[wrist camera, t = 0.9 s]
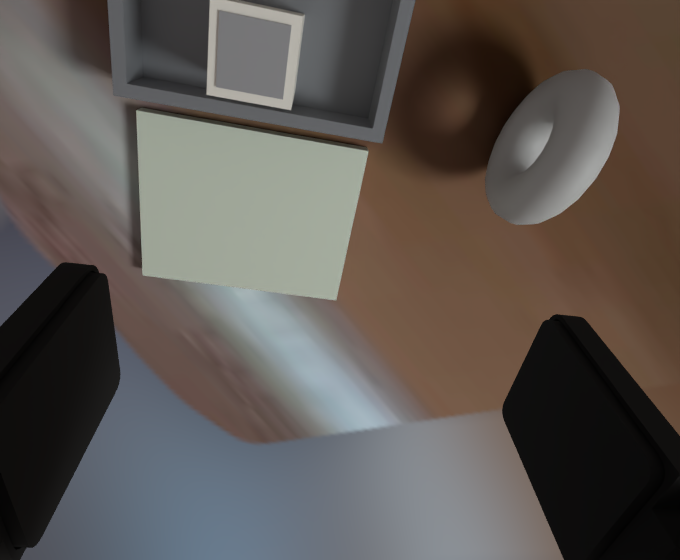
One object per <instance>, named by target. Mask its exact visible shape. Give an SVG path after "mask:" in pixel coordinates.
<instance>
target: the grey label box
mask: <svg viewBox="0 0 680 560" xmlns="http://www.w3.org/2000/svg"><path fill="white" fill-rule="evenodd" d="M304 18H305V14H303V13H298V12H293V11H288V10H284V9H279V8H274V7H270V6H265V5H260V4H256V3H251V2H246V1H241V0H210V10H209V38H208V66H207V95H211V96H216V97H221V98H227V99H232V100H238V101H243V102H249V103H254V104H260V105H265V106H270V107H276V108H281V109H287V110H291V108H292V103H293V99H294V95H295V89H296V81H297V73H298V65H299V57H300V49H301V42H302V34H303V26H304Z"/></svg>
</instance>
